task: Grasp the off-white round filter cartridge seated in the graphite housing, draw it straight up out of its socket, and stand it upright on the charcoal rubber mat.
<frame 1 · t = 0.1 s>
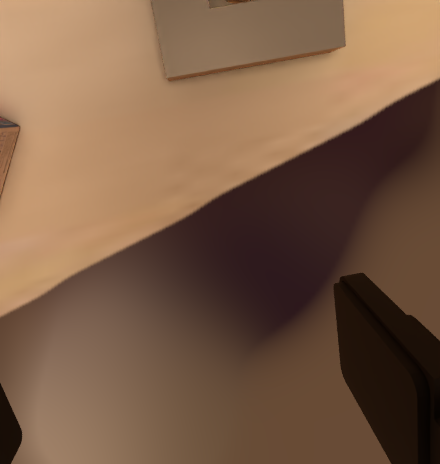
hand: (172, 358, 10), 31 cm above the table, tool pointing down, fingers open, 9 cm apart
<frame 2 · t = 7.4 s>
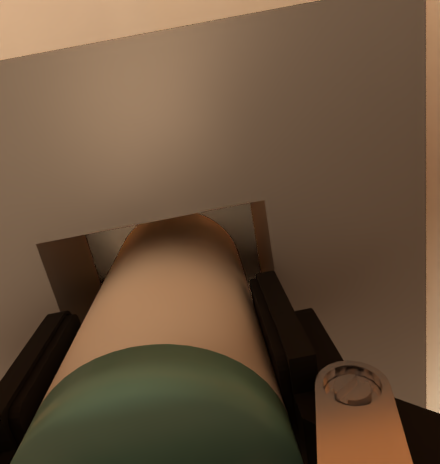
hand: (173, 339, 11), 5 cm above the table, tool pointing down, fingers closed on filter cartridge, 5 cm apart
filter cartridge: (173, 339, 11), in the housing, touching gripper
housing: (179, 269, 16), on the table
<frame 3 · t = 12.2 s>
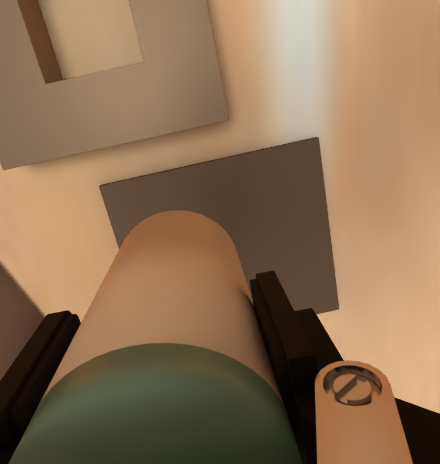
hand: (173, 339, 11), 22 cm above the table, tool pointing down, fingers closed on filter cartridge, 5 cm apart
filter cartridge: (173, 339, 11), point 22 cm above the table, touching gripper
housing: (94, 29, 27), on the table
mat: (227, 250, 33), on the table
when the fingers open (7 cm above the table, at t = 16.9 s): filter cartridge drops 1 cm, resting on mat.
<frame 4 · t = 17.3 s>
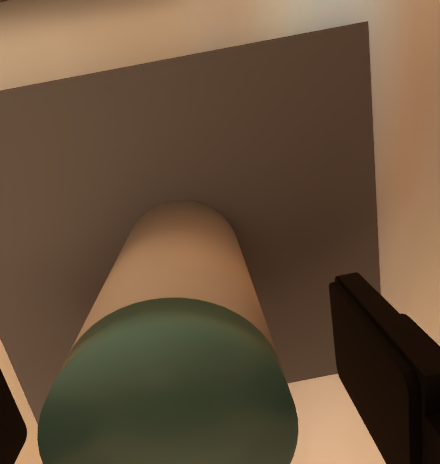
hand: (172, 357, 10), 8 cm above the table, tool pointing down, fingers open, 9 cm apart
filter cartridge: (179, 311, 12), on the mat, point 6 cm above the table
mat: (180, 251, 17), on the table
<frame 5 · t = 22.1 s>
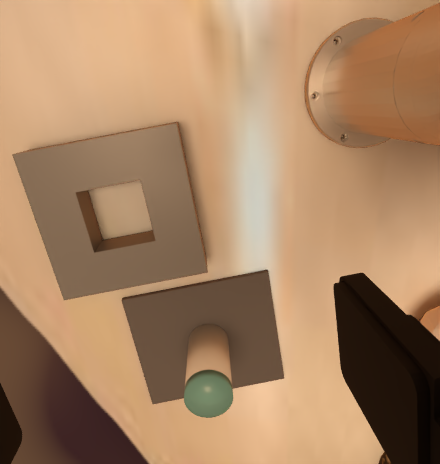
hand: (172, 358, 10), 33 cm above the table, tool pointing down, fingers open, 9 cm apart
filter cartridge: (208, 366, 43), on the mat, point 6 cm above the table
housing: (123, 207, 42), on the table
mat: (207, 338, 49), on the table
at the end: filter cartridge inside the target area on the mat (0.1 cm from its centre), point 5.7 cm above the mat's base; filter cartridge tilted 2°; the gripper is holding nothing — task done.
